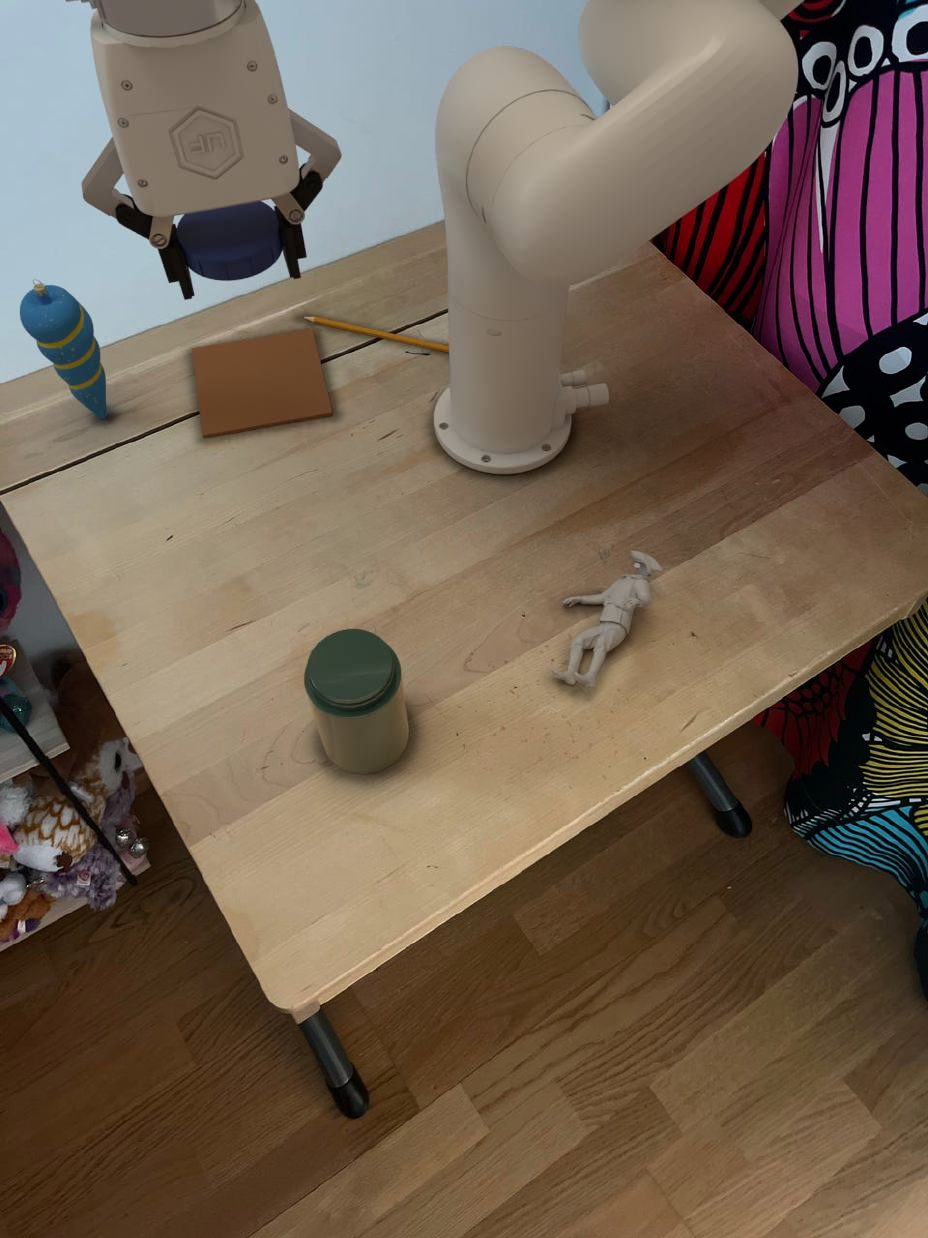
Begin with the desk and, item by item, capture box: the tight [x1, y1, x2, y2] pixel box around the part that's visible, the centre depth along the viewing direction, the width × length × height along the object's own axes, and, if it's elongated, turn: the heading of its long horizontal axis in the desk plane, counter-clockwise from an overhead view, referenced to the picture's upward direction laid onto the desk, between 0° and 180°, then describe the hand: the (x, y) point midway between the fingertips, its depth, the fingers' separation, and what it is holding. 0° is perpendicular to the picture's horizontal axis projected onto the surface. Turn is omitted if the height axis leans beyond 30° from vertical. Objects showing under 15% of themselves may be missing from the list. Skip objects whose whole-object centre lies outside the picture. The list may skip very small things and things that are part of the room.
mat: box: [191, 328, 333, 439], centre depth 87 cm, size 12×12×1 cm
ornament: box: [19, 278, 108, 420], centre depth 79 cm, size 5×5×15 cm
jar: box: [303, 628, 410, 775], centre depth 63 cm, size 6×6×10 cm
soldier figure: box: [551, 550, 663, 689], centre depth 71 cm, size 8×5×12 cm
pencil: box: [301, 316, 449, 354], centre depth 91 cm, size 19×1×1 cm, turn 72°
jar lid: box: [176, 201, 284, 282], centre depth 60 cm, size 7×7×2 cm
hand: (239, 274), depth 63 cm, fingers closed on jar lid, 6 cm apart
